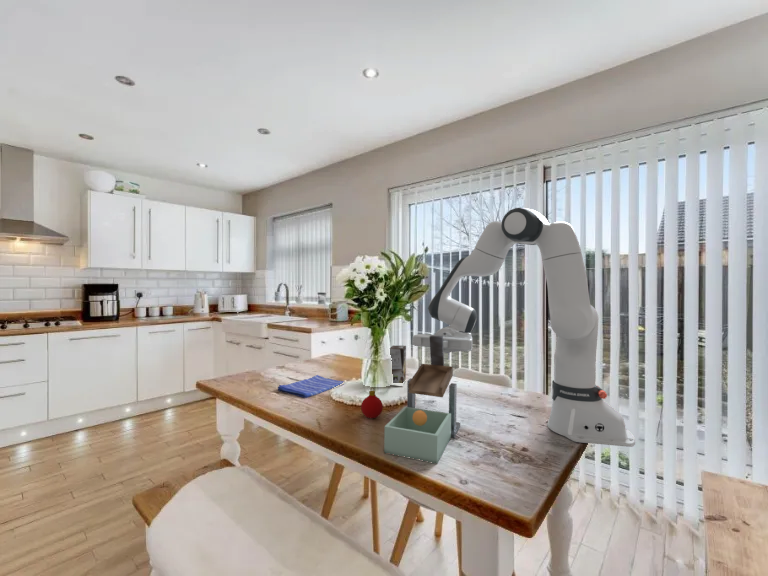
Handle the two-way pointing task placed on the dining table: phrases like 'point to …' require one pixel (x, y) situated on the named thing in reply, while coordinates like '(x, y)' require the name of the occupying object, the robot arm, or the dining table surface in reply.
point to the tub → (418, 435)
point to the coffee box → (398, 363)
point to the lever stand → (452, 406)
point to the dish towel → (309, 386)
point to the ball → (419, 418)
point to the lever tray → (432, 372)
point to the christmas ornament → (372, 405)
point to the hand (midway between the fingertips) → (437, 344)
